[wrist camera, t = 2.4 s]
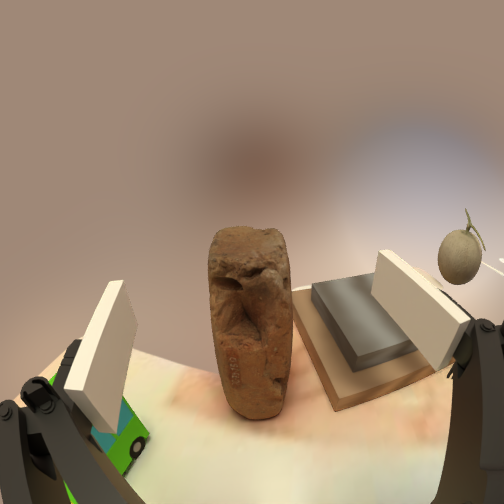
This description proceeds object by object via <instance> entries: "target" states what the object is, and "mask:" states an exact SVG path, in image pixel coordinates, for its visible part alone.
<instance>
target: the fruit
mask: <svg viewBox="0 0 504 504" xmlns="http://www.w3.org/2000/svg"><path fill="white" fill-rule="evenodd" d="M465 211H466V214H467V217H468V224H467V228H466V230H455V231H452V232H451V233H449V234H448V235H447V236H446V237H445V239H444V240H443V242H442V243H441V246H440V248H439V253H438V266H439V270H440V272H441V274H442V276H443V277H444V279H445V280H446V281H448V282H449V283H451V284H454V285H461V284H465V283H467V282H469V281H470V280H472V279H473V278H474V276H475V275H476V274H477V272H478V270H479V267H480V264H481V258H482V250H481V246H480V243H479V240H478V239H477V237H476V236H475V235H473V234H472V233H471V232H469V230H470V228H471V227H472V228H473V229H474V231H475V232H476V233H477V235H478V237H479V238H480V240H481V242H482V245H483V247H484V250H485V246H484V244H483V241H482V239H481V237H480V235H479V233H478V232H477V230H476V229H475V227H474V226H473V225H472V224H471V220H470V217H469V214H468V212H467V210H466V209H465Z"/></svg>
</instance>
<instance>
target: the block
mask: <svg viewBox="0 0 504 504" xmlns="http://www.w3.org/2000/svg"><path fill="white" fill-rule="evenodd" d="M208 281H209V292H210V310H211V324H212V332H213V339H214V346H215V354H216V359H217V364H218V369H219V374H220V378H221V382H222V386H223V389H224V393H225V396H226V399H227V401H228V403H229V405H230V406H231V407H232V408H233V409H234V410H235V411H236V412H238V413H239V414H241V415H243V416H244V417H246V418H248V419H264V418H270V417H273V416H275V415H277V414H278V413H279V412H280V410H281V409H282V405H283V401H284V397H285V393H286V388H287V382H288V378H289V372H290V365H291V354H292V337H293V310H292V307H293V304H292V291H291V279H290V264H289V258H288V255H287V250H286V244H285V240H284V237H283V235H282V234H281V233H280V232H279V231H278V230H277V229H274V228H271V229H265V230H261V229H253V228H251V227H247V226H236V227H229V228H224V229H222V230H220V231H218V232H217V233H216V235H215V236H214V238H213V241H212V244H211V247H210V250H209V257H208Z"/></svg>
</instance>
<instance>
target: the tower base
mask: <svg viewBox="0 0 504 504" xmlns="http://www.w3.org/2000/svg"><path fill="white" fill-rule="evenodd" d="M374 274H375V273H370V274H365V275H360V276H354V277H348V278H342V279H337V280H331V281H325V282H319V283H314V284H312V288H311V289H305V290H299V291H292V304H293V307H292V310H293V320H294V322H295V324H296V326H297V328H298V331H299V333H300V335H301V337H302V339H303V342H304V344H305V346H306V348H307V350H308V353H309V355H310V357H311V359H312V362H313V364H314V366H315V368H316V371H317V373H318V375H319V377H320V379H321V382H322V384H323V386H324V388H325V391H326V393H327V395H328V397H329V400H330V402H331V404H332V406H333V409H334V411H335V412H336V411H339V410H343V409H346V408H349V407H352V406H355V405H358V404H361V403H364V402H367V401H370V400H372V399H375V398H378V397H380V396H383V395H385V394H388V393H390V392H393V391H395V390H398V389H400V388H403V387H405V386H407V385H409V384H412V383H414V382H416V381H418V380H420V379H422V378H425V377H427V376H429V375H431V374H433V373H435V372H436V371H435V370H434V368H433V367H432V366H431V365H430V363H429V362H428V361H427V360H426V358H425V357H424V356H423V355H422V353H421V352H420V351H419V350H418V348H417V347H416V346H415V345H414V343H413V342H412V341H411V340H410V339H409V337H408V336H407V335H406V334H405V333H404V331H403V330H402V329H401V328H400V327H399V325H398V324H397V323H396V322H395V321H394V320H393V318H392V317H391V316H390V315H389V314H388V313H387V311H386V310H385V309H384V308H383V307H382V306H381V305H380V303H379V302H378V301H377V300H376V299H375V298H374V297H373V296H372V294H371V290H372V285H373V280H374ZM455 361H456V360H455V359H454V358H453V356H452V358H451V360H450V362H449V364H448V365H450V364H452V363H454V362H455ZM448 365H447V366H448Z"/></svg>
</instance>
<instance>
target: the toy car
mask: <svg viewBox="0 0 504 504" xmlns="http://www.w3.org/2000/svg"><path fill="white" fill-rule="evenodd" d="M56 374H57V373H56ZM56 374H55V375H54V376H53V377H52V378H51V379H50V380H49V381H48V382H49V383H50V384H51V386H52V384H53V382H54V379H55V377H56ZM91 434H92V435H93V436H94V437H95V439H96V440H97V442H98V443H99V445H100V446H101V448H102V449H103V451H104V452H105V454H106V455H107V456H108V458H109V459H110V461H111V462H112V463H113V465H114V466H115V467H116V469H117V470H118V471H119V473H120V474H121V475H123V473H124V472H125V470H126V469H127V467H128V466H129V464H130V463H131V461H132V460H133V459H132V458H131V457H133V458H135V457H138V456H139V455H140V454H141V452H142V451H143V449H144V446H145V440H144V439H146V438H147V437H148V435H149V432H148V431H147V429H146V428H145V427H144V425H143V424H142V423H141V421H140V420H139V418H138V417H137V416H136V414H135V413H134V411H133V410H132V409H131V407H130V406H129V404H128V403H127V401H126V400H125V398H124V397H123V396H122V401H121V407H120V413H119V420H118V426H117V434H113V433H102V432H98V430H97V429H96V428H95V427H94V426H93V425H92V429H91ZM64 484H65V487H66V490H67V493H68V496H69V499H70V502H71V503H72V504H78V503H77V502H76V500H75V499H74V497H73V495H72V494H71V492H70V490H69V489H68V487H67V485H66V483H65V482H64Z"/></svg>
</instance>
